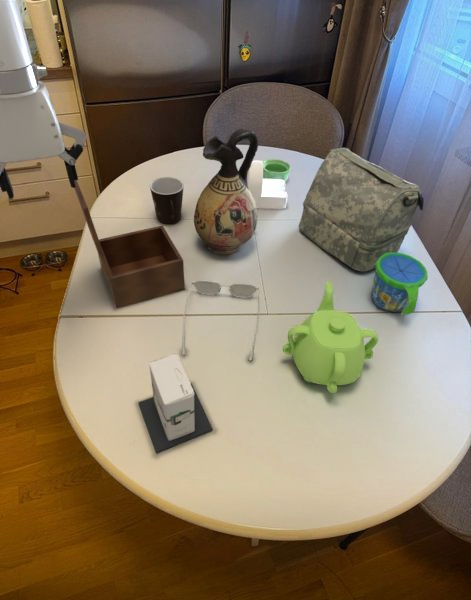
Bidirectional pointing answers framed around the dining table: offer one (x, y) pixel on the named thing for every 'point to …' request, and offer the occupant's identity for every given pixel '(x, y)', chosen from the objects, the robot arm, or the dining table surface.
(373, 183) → the lunch bag
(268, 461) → the dining table surface
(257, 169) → the bracket
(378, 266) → the sippy cup
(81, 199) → the lid
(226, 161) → the ceramic jug
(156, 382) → the ink box
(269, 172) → the ramekin
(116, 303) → the chest
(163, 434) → the mat
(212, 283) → the eyeglasses
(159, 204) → the coffee mug
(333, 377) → the teapot
